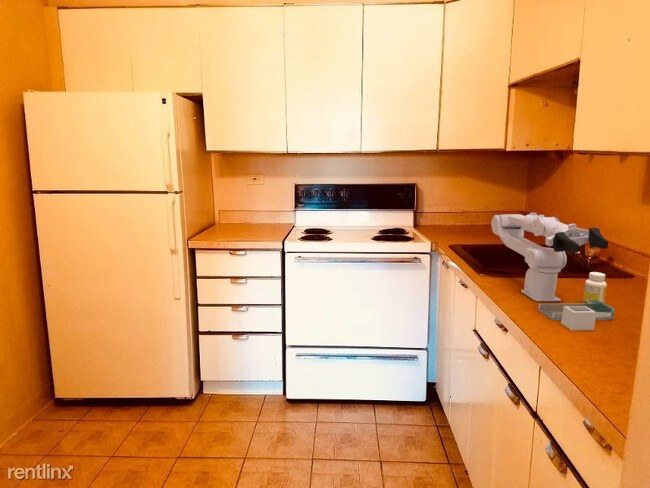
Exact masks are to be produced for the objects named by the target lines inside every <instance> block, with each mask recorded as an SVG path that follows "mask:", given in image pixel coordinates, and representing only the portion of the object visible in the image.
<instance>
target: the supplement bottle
mask: <svg viewBox="0 0 650 488" xmlns="http://www.w3.org/2000/svg"><path fill="white" fill-rule="evenodd" d="M605 278H606V274H605V273H602V272H599V271H598V272H597V271H591V272H589V275H588V279H586V280H585V284H584V291H583V297H582V303H593V302H594V299H597V300H599V301H601V302H603V303H605V299H606V292H607V286H608V284H607V282H606V281H605Z"/></svg>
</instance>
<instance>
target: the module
mask: <svg viewBox="0 0 650 488" xmlns="http://www.w3.org/2000/svg"><path fill="white" fill-rule="evenodd" d="M595 318H596V312H595V311H593V310H591V309H590V308H588V307H586V306H563V313H562V320H560V324H561V325H562V326H564V327H565V326H566V327H565V328H567V329H568V328H569V329H568V330H570V331H594V330H595V325H596V320H595Z"/></svg>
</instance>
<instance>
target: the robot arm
mask: <svg viewBox="0 0 650 488" xmlns="http://www.w3.org/2000/svg"><path fill="white" fill-rule="evenodd" d="M490 224H491V230H492V233H493V234H495V235H496V236H498V237H499V239H500V240H501V242H503V244H504V245H505V246H506V247H507V248H509V249H511V250H513V251H514V252H516V253H517V254H519V255H521V256H523V257H524V262H525V263H526V264H527V265H528V267H529V268H528V269H527V270H526V272H525V279H524V286H523V287H524V288H523V289H521V293H523V294H524V295H525V296H527V297H529V298H530V299H531V300H534V301H535V302H561V301H562V299H561V298H559V297H557V296H556V292H557V291H556V289H557V284H558V283H557V282H558V277H559V276H558V275H559V274H558V273H561V270H562V269H564V268H565V267H566V265H567V261H568V260H567V258H568V257H567V254H566V252H569V253H579V252H580V251H579V250H580V246H582V245H585V244H587V243H589V247H588V248H589V249H593V248H598V249H602V250H606V249H608V248H609V240H607V239H606V238H605V237H604V236H603V235H602V232H601V230H600V228H598V227H589V228H588V229H583V228H579V227H577V224H576V223H570V224H565V223H563V222H560V220H559V218H558V217H555V216H551V217H550V216H546V217H545V214H539V215H538V214H537V212H530V213H529V214H527V215H523V214H519V213H518V214H517V213H515V214H510V213H509V214H499V215H498V214H494V215H493V217H492V219H491V223H490ZM525 231H526V232H529V233H533V234H534V235H533V236H535V237H539V236H542V237H545V245H546V246H548V247H544V246H541V245H539V244H537V243H535V242H533V241H531V240H529V239H528V238H525V237H524V236H525ZM552 246H553V247H552ZM551 247H552V248H551Z"/></svg>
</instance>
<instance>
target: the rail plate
mask: <svg viewBox="0 0 650 488" xmlns="http://www.w3.org/2000/svg"><path fill="white" fill-rule="evenodd" d="M563 306H586V307H588V308H590V309H591V310H593V311H595V312H596V318H595V321H604V320H605V321H606V320H607V321H611V320H614V315H615V314H614V313H615V308H614V307H612V306H611V305H608V304H607V303H605V302H604V303H603V302H601V301H599V300H597V299H594V302H593V303H583V302H581V303H578V302H577V303H571V302H570V303H569V302H568V303H539V304H538V312H541V313H542V314H543V315H545V316H546V317H548V318H549V319H550V320H552V321H561V320H562V313H563Z"/></svg>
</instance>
